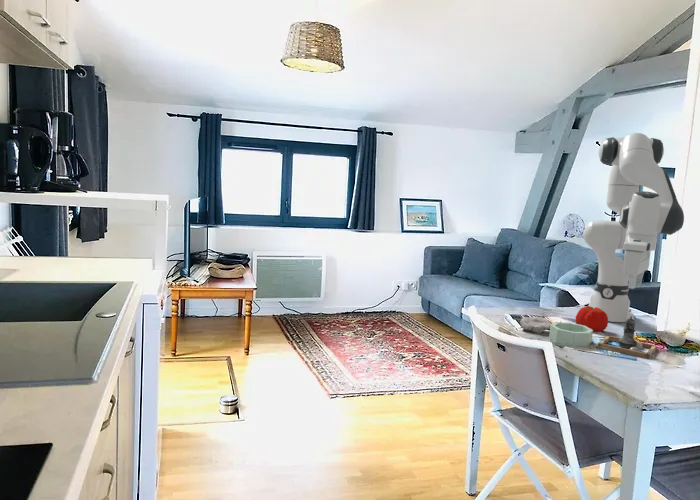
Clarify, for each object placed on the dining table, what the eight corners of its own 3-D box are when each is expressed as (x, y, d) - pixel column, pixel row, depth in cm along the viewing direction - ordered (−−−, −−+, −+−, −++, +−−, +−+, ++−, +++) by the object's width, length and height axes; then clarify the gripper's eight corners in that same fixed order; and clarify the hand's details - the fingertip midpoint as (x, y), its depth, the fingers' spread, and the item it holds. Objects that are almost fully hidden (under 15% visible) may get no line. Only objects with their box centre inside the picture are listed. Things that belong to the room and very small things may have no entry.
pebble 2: (643, 351, 184) (632, 350, 186) (643, 342, 184) (633, 340, 186) (641, 351, 181) (630, 350, 183) (642, 341, 182) (631, 340, 184)
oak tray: (606, 342, 192) (607, 335, 192) (655, 352, 183) (656, 345, 183) (596, 350, 182) (597, 343, 181) (648, 362, 173) (649, 354, 172)
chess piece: (612, 349, 184) (617, 314, 182) (625, 348, 186) (630, 313, 184) (627, 355, 178) (632, 319, 177) (640, 354, 181) (645, 318, 179)
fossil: (553, 327, 196) (527, 314, 197) (544, 342, 198) (518, 329, 199) (550, 319, 204) (525, 306, 205) (541, 334, 206) (516, 321, 207)
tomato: (575, 325, 212) (578, 302, 211) (607, 330, 207) (610, 307, 206) (572, 331, 203) (575, 308, 202) (605, 337, 198) (608, 313, 197)
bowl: (556, 335, 197) (558, 320, 196) (593, 343, 189) (595, 327, 189) (545, 343, 187) (546, 327, 186) (583, 352, 180) (585, 335, 179)
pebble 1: (639, 353, 179) (628, 349, 180) (642, 347, 176) (631, 343, 178) (637, 360, 177) (626, 356, 178) (639, 354, 175) (628, 350, 176)
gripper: (636, 240, 187) (630, 280, 189) (622, 244, 171) (616, 288, 173) (657, 242, 184) (651, 284, 186) (645, 246, 167) (639, 292, 169)
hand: (634, 286), depth 179 cm, fingers open, 8 cm apart
